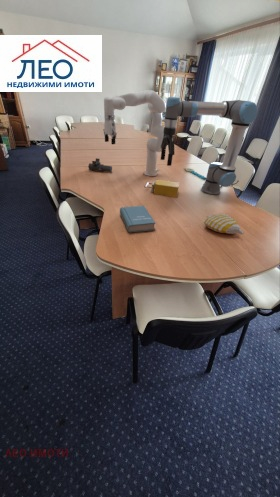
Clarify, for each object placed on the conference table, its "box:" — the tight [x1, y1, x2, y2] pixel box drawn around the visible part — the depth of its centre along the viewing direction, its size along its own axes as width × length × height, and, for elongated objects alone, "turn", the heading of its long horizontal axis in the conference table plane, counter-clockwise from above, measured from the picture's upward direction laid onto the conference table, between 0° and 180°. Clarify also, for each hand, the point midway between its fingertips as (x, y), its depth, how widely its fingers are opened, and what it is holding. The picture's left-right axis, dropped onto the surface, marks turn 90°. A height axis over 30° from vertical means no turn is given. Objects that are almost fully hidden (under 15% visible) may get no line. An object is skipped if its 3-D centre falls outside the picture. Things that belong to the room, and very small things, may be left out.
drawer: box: [143, 180, 156, 193], centre depth 176 cm, size 23×10×6 cm, turn 77°
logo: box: [183, 167, 206, 180], centre depth 223 cm, size 34×10×1 cm, turn 16°
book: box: [119, 205, 156, 233], centre depth 136 cm, size 23×16×5 cm
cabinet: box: [153, 179, 180, 198], centre depth 176 cm, size 18×11×8 cm, turn 77°
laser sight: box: [88, 158, 113, 173], centre depth 208 cm, size 10×22×10 cm, turn 78°
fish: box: [203, 213, 245, 235], centre depth 133 cm, size 25×8×20 cm
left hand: (110, 142), depth 172 cm, fingers open, 9 cm apart
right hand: (165, 162), depth 149 cm, fingers open, 13 cm apart
